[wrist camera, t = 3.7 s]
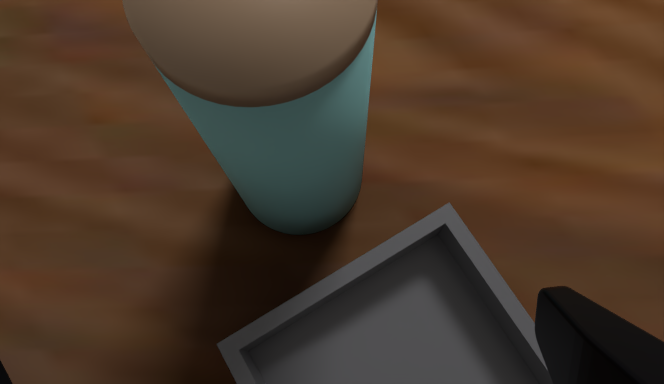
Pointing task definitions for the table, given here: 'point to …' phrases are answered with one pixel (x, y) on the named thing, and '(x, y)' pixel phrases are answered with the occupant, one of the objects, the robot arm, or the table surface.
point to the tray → (397, 320)
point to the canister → (271, 96)
